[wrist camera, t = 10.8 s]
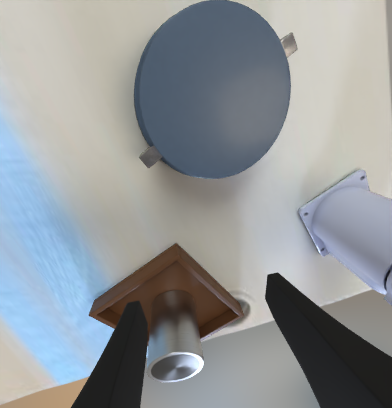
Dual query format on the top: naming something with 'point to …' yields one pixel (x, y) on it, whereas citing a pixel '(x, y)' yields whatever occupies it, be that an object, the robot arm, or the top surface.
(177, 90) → the lidded cooking pot
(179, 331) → the cup
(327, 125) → the top surface
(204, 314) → the tray
